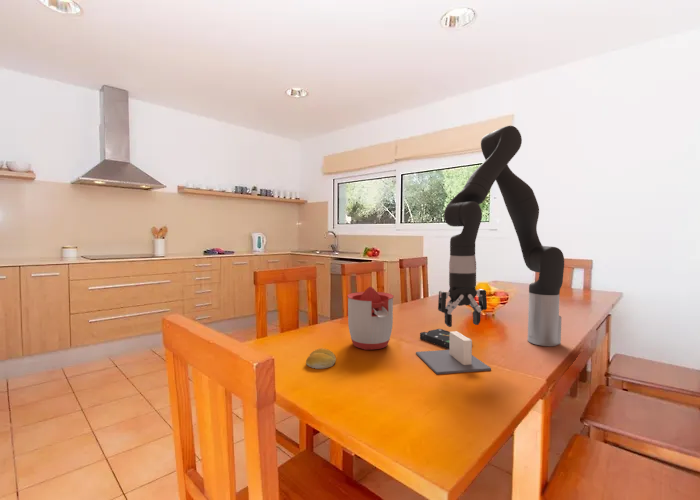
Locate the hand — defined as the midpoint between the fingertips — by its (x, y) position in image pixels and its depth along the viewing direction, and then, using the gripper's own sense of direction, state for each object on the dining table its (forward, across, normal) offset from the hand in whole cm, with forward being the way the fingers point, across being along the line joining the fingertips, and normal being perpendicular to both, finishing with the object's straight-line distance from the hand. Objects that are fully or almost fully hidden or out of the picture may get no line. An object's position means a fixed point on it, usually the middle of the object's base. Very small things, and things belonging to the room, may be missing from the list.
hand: (462, 325), depth 103 cm
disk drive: (+12, -3, -18) cm, 22 cm away
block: (+10, +1, 0) cm, 10 cm away
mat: (+11, +4, 0) cm, 11 cm away
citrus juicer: (+11, +23, -18) cm, 32 cm away
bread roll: (+11, +42, -6) cm, 43 cm away
